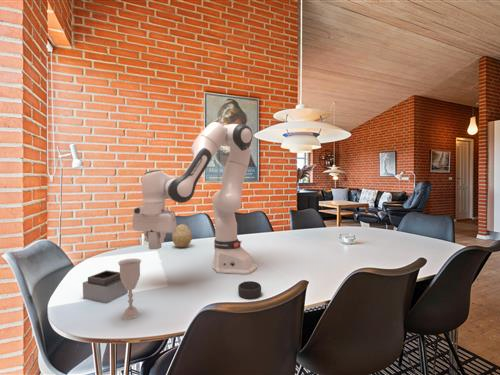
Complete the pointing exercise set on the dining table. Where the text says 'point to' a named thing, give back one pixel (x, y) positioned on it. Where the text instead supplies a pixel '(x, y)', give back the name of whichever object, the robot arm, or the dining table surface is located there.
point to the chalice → (130, 282)
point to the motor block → (104, 287)
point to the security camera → (154, 240)
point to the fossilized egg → (182, 236)
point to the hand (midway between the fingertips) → (154, 242)
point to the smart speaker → (249, 290)
